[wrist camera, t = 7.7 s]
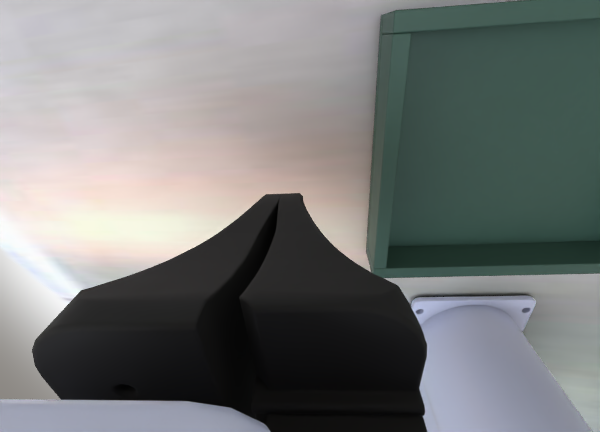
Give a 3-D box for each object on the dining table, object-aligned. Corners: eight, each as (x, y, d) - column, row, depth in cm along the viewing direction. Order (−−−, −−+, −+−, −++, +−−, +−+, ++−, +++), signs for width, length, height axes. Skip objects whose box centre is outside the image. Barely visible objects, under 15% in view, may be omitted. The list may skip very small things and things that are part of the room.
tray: (608, 244, 18) (649, 272, 16) (366, 251, 19) (372, 278, 17) (756, -14, 12) (857, -26, 9) (380, 15, 13) (394, 10, 10)
